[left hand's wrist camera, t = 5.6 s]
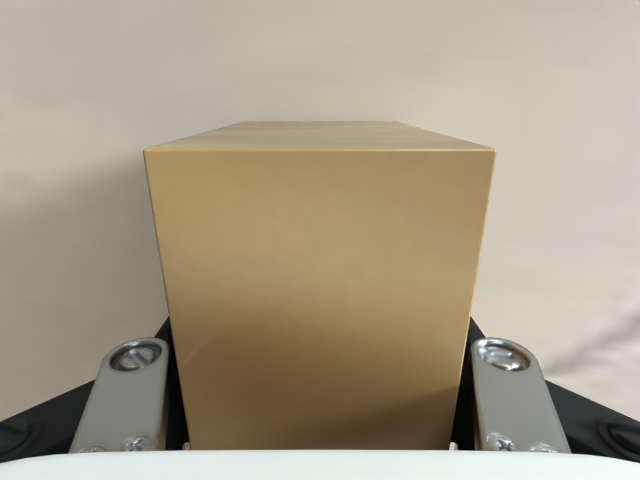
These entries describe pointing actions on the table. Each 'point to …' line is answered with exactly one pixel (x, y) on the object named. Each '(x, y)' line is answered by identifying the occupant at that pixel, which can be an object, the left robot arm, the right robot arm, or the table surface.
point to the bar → (319, 280)
